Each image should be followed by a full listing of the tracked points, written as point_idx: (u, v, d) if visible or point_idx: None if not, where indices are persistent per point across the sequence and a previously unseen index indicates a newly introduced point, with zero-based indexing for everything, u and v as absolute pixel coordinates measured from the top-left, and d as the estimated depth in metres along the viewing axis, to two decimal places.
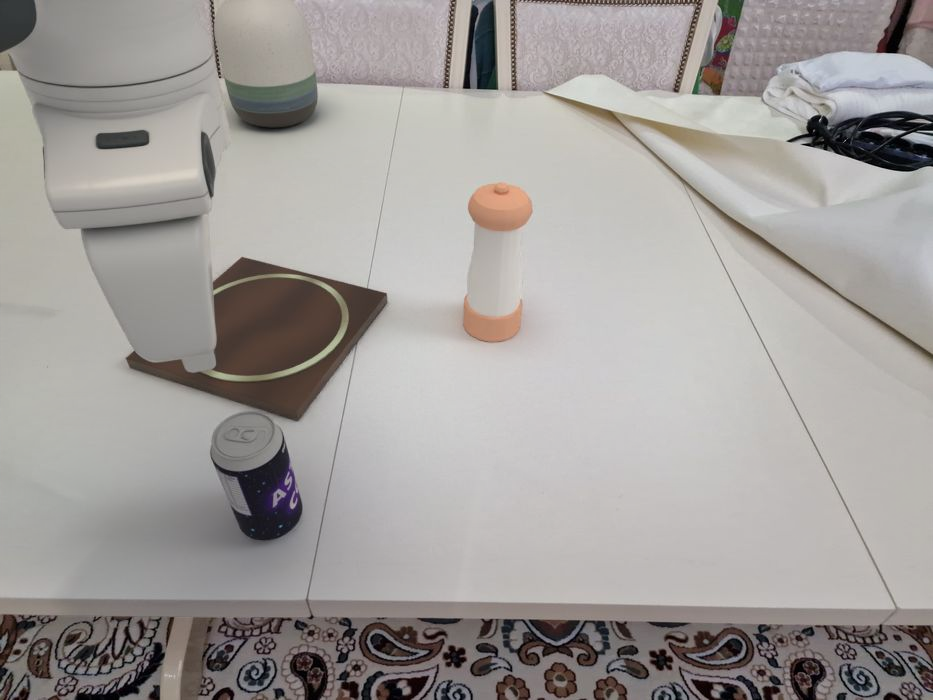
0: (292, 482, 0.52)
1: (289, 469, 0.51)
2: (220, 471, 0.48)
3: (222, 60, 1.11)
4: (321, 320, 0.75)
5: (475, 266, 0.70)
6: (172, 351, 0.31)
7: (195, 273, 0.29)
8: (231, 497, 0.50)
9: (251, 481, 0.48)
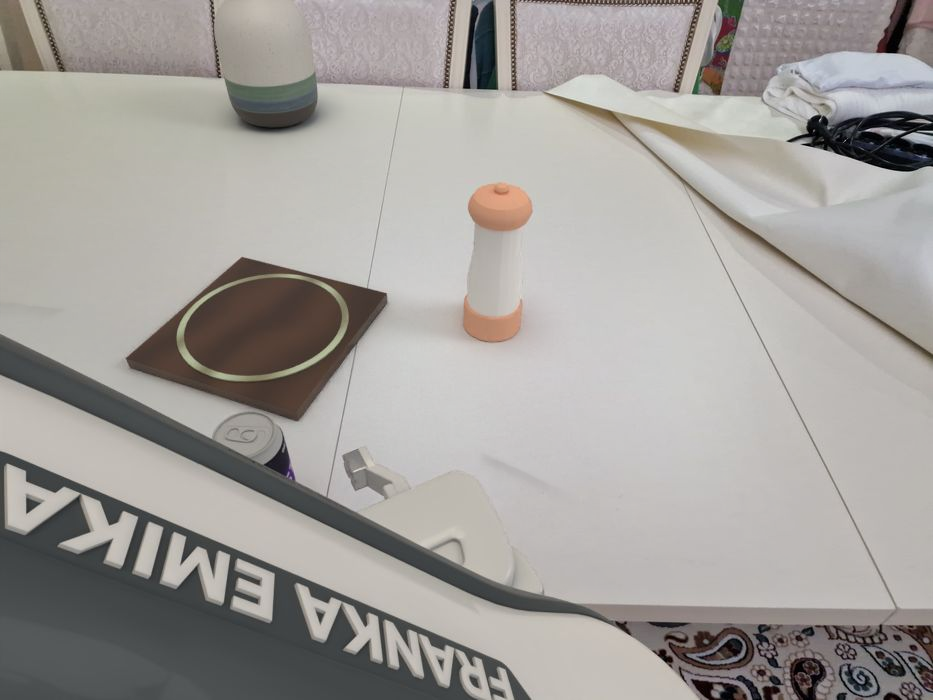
0: None
1: (289, 469, 0.51)
2: None
3: (222, 60, 1.11)
4: (321, 320, 0.75)
5: (475, 266, 0.70)
6: None
7: None
8: None
9: None
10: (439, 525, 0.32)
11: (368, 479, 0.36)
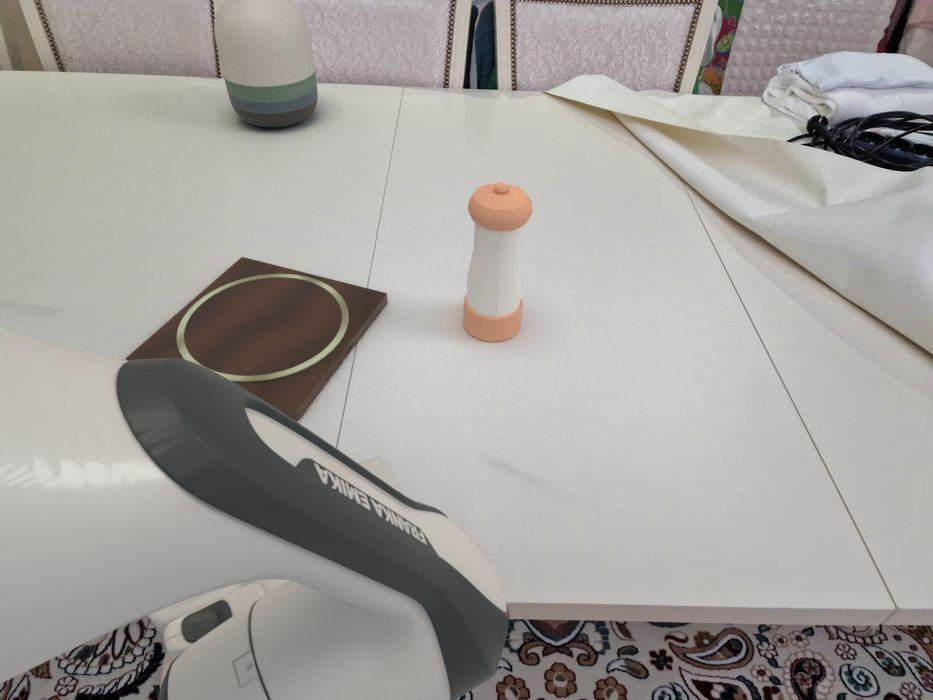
0: None
1: None
2: None
3: (222, 60, 1.11)
4: (321, 320, 0.75)
5: (475, 266, 0.70)
6: None
7: None
8: None
9: None
10: None
11: None
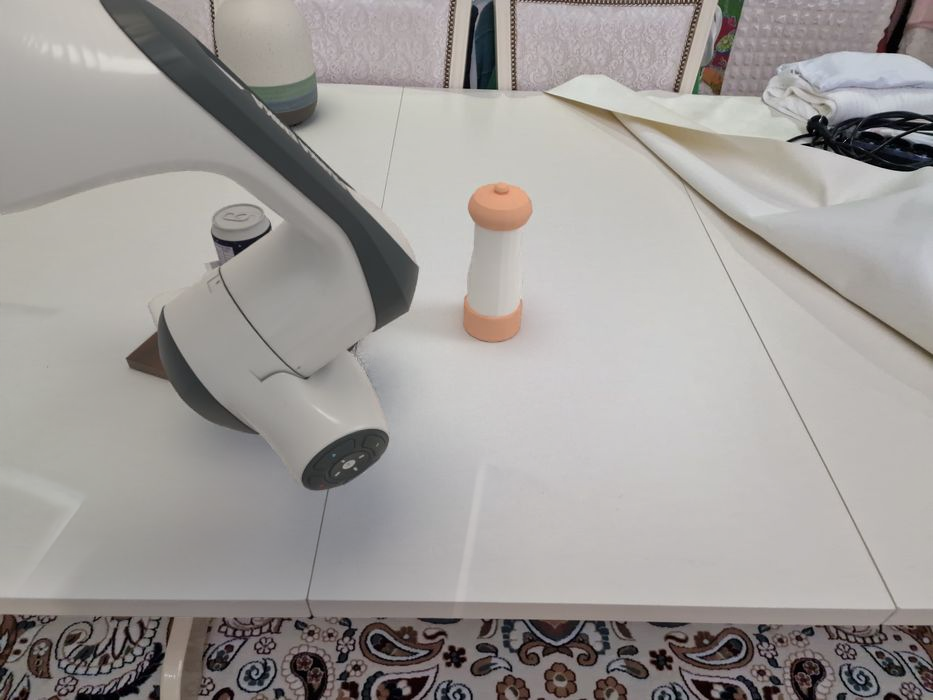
0: None
1: None
2: (219, 243, 0.59)
3: (222, 60, 1.11)
4: None
5: (475, 266, 0.70)
6: None
7: None
8: None
9: None
10: None
11: None
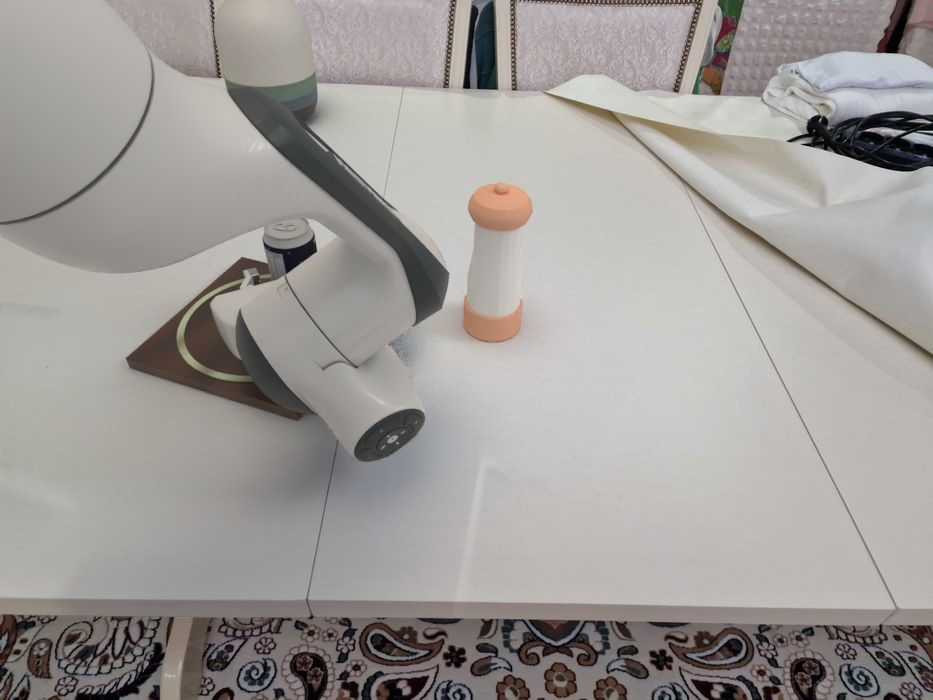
0: None
1: None
2: (270, 251, 0.67)
3: (222, 60, 1.11)
4: None
5: (475, 266, 0.70)
6: (213, 314, 0.64)
7: (231, 351, 0.63)
8: (276, 277, 0.69)
9: (292, 259, 0.67)
10: None
11: None
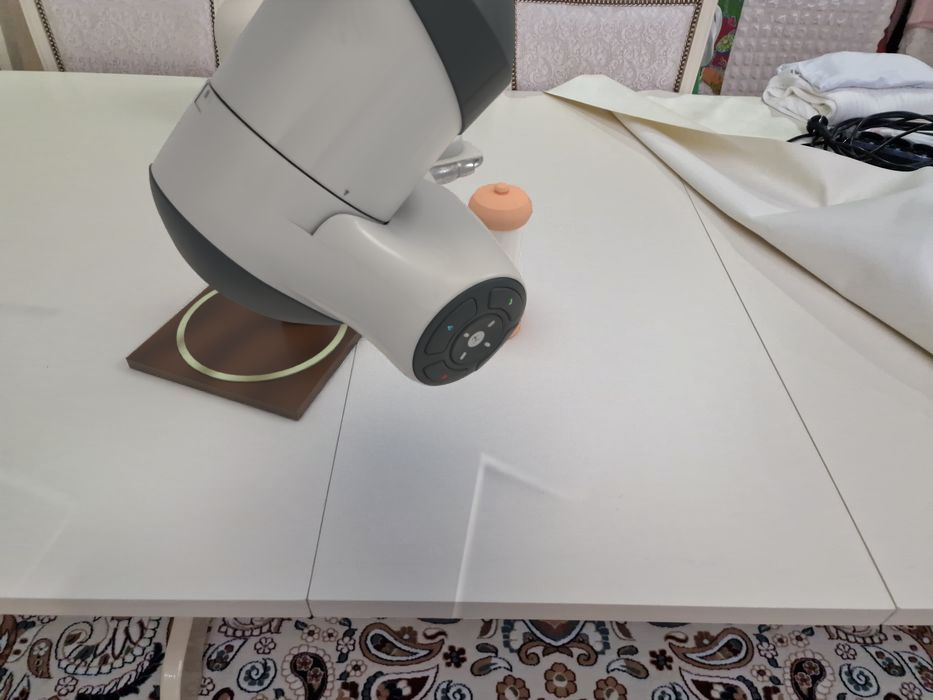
0: None
1: None
2: None
3: (222, 60, 1.11)
4: None
5: None
6: None
7: None
8: None
9: None
10: None
11: None
